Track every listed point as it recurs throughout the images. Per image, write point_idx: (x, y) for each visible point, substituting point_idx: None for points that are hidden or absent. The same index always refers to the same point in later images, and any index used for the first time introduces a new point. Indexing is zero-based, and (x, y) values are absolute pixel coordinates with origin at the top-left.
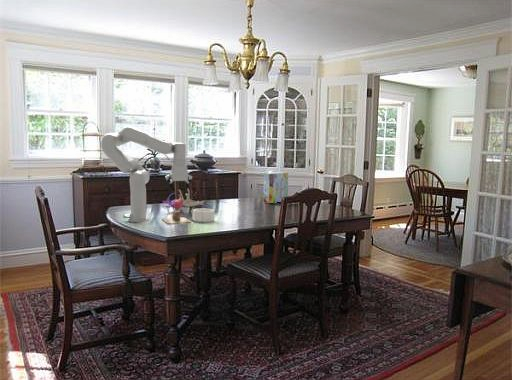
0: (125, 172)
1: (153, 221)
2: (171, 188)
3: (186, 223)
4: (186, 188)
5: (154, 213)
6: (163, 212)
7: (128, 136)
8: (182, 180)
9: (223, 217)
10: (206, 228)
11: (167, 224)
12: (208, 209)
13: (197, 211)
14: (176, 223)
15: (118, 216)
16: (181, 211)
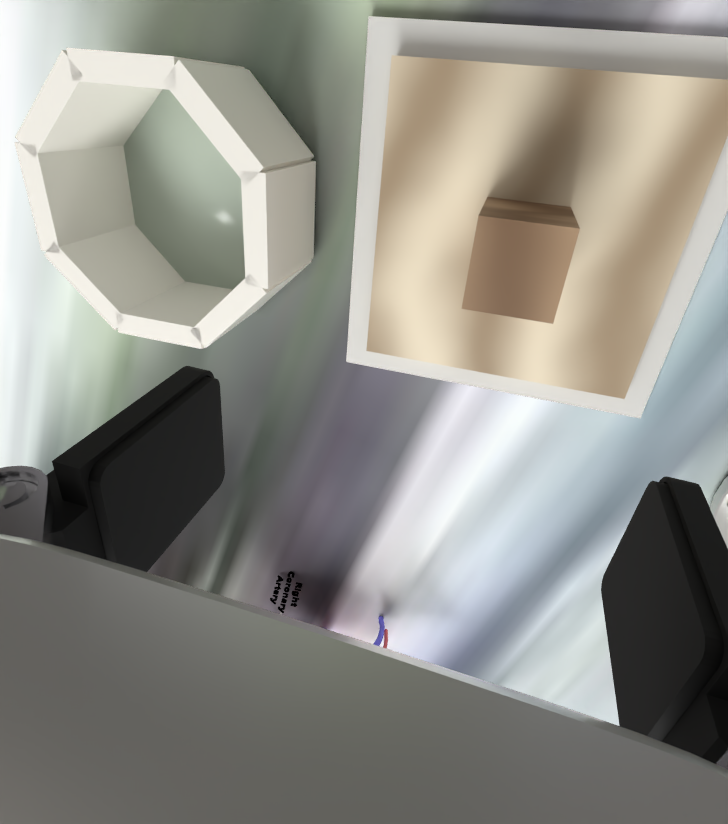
0: None
1: (720, 400)
2: (707, 509)
3: (464, 58)
4: (197, 388)
5: (492, 657)
6: (412, 648)
7: None
8: (176, 584)
9: (11, 262)
10: None
11: None
12: (78, 262)
13: (238, 138)
14: (607, 71)
15: None
16: (288, 584)
